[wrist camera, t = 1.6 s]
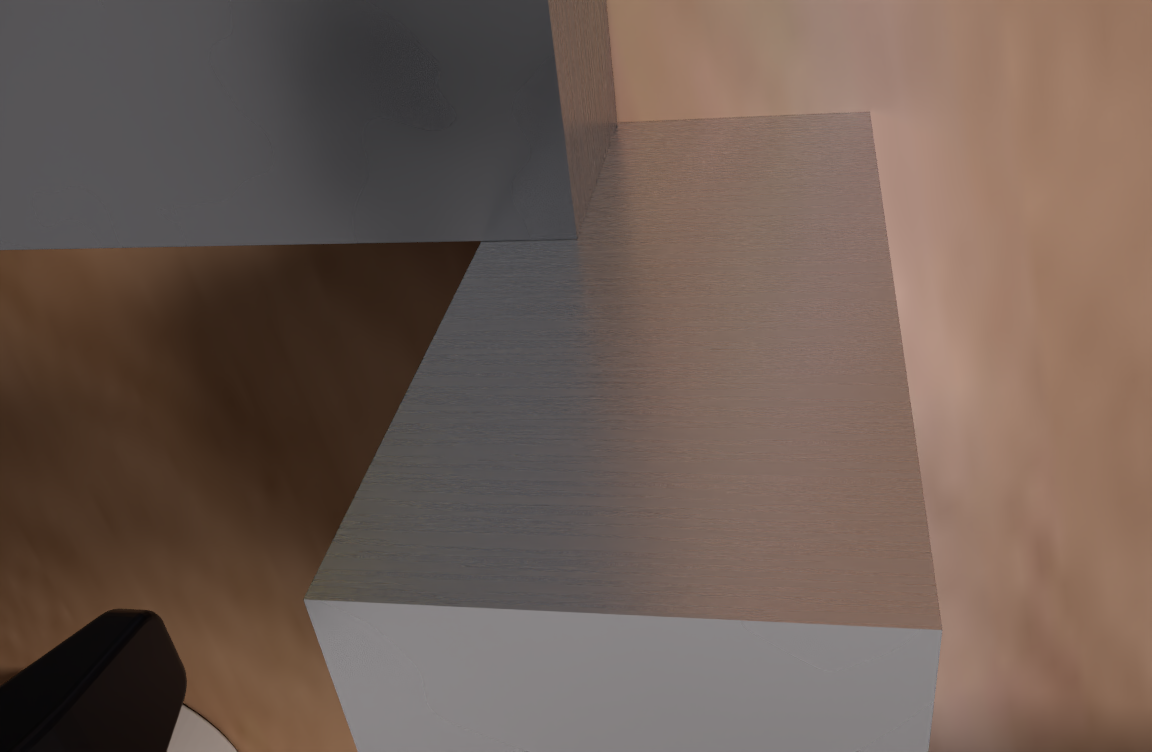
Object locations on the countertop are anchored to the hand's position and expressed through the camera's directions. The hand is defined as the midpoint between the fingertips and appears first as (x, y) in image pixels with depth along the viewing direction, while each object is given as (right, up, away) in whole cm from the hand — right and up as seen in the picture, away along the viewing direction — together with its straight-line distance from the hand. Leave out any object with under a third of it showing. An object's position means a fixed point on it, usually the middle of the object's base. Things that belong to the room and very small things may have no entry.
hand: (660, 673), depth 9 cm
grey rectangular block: (+1, +4, +5) cm, 7 cm away
